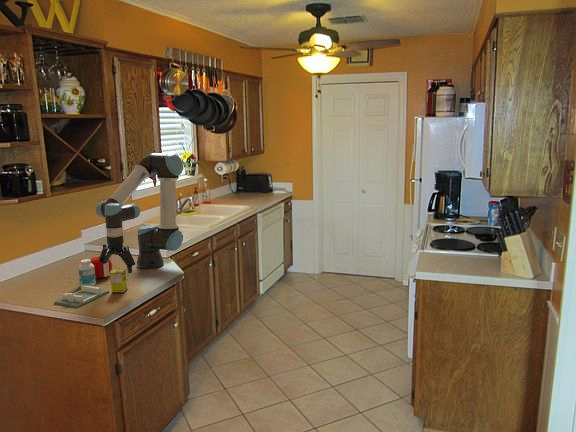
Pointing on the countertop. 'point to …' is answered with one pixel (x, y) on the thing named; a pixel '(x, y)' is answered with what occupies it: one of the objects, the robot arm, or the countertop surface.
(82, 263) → the pill bottle
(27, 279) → the countertop surface
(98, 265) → the tomato
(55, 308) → the countertop surface
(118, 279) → the supplement box
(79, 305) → the board
